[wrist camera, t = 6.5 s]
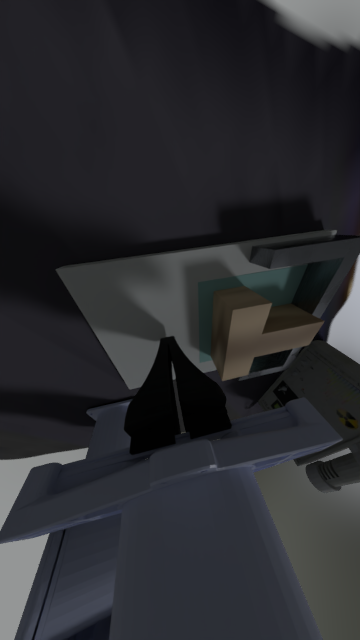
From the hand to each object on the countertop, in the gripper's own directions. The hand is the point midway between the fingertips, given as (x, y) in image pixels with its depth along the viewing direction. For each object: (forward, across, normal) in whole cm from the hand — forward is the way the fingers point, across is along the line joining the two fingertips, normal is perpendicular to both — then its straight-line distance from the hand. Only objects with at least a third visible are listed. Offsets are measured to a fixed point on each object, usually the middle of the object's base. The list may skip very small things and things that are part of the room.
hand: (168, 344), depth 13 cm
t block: (+1, -9, 0) cm, 9 cm away
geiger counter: (+2, -22, +20) cm, 29 cm away
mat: (+2, -4, 0) cm, 5 cm away
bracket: (+1, -12, 0) cm, 12 cm away
